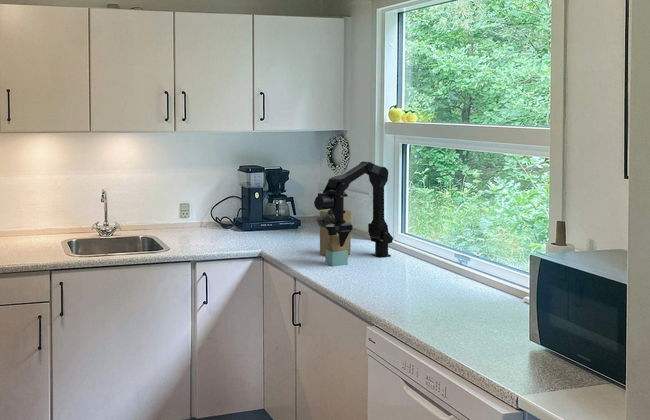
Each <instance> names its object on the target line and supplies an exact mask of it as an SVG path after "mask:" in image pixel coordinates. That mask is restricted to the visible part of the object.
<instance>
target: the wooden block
mask: <svg viewBox="0 0 650 420" xmlns="http://www.w3.org/2000/svg"><path fill="white" fill-rule="evenodd" d="M328 210H330V209H324V210H319V217H321V216H323V215H326V214H328ZM344 210H345V211H346V213H344V220H345V223H350V224H351V225H352V223H351V222H352V221H351V219H352V217H351V215H352V214H351V213H352V211H351V210H349V209H344ZM351 233H352V231H351V232H350V233H349V235H348V237H347V239H346V241H345V250H346V251H348V256H350V255H351V250H352V249H351V246H352V245H351V241H352V240H351V237H352V236H351V235H352V234H351ZM336 235H338V233H336ZM328 236H329V234H328V231H327V230H326V229H325V228H324V227H321V226H319V256H322V257H324V256H325V257H326V250H327V249H328Z"/></svg>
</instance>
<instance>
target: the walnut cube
mask: <svg viewBox="0 0 650 420" xmlns="http://www.w3.org/2000/svg"><path fill="white" fill-rule="evenodd" d="M328 250H330V251H332V252H339V251H345V243H344V245H343V247H340V243H339V235H330V236H328Z"/></svg>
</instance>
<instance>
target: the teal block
mask: <svg viewBox="0 0 650 420" xmlns="http://www.w3.org/2000/svg"><path fill="white" fill-rule="evenodd" d="M348 258H349V255H348V251H346V250H345V251H339V252H332V251H330V250H328V249H327V250H326V256H325V264H326V265H327V266H331V267H339V266H340V267H342V266H348V265H349V264H348V263H349V262H348Z"/></svg>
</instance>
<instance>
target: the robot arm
mask: <svg viewBox="0 0 650 420" xmlns="http://www.w3.org/2000/svg"><path fill="white" fill-rule="evenodd" d="M365 174H366V175H368V181H369V182H370V184H371V187H372V219H371V222H370V223H368V224H367V226H368V227H367V229H368V230H367V233H368V235H369V236H368V237H370V241H371V242H374V245H375V246H374V253H371V256H374V257H376V258H385V257H392V255H391V254H389V244H391V243H393V239H394V237H393V236H392V235H391V233H390V232H389V227H388V226H389V225H388V223H387V222H386V220H385V186H386V184H387V182H388V180H389V179H388V178H389V169H388V168H387V167H386V166H380V165H377V164H375V163H373V162H371V161H365V160H364V161H361V162H359V163H358V164H357V165H356V166H354V167H352V168H351V169H350V170H347V171H346V172H344V173H342V174H339V175H334V176H332V177H330V178H328V180H327V183H326V185H325V187H324V190H323V191H322V193H321V192H318V193H317V196H316V197H315V199H314V201H313V202H314V207H315V209H316V210H318V211H322V210H328V214H326V215H323V216H321V217H320V216H319V217H317V218H316V222H317V225H318V226H319V227H320V226H321V227H324V228H325V229H326V230H327V231H328V234H329V236H330V235H336V233H338V235H339V243H340V247H343V245H344V243H345V241H346V239H347V237H348V235H349V233H350V232H351V233H352V231H353V224H352V223H351V224H350V223H345V220H344V213H346V211H345V210H346V209H345V206H344V205H345V200H344V199H345V197H346V198H347V197H348V194H347V193H346V192H345V191H346V190H347V189H348V188H349V186H350V184H351V183H352V182H354V181H356V180H358V179H359V178H360V177H362V176H364V175H365ZM329 209H330V210H329Z"/></svg>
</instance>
